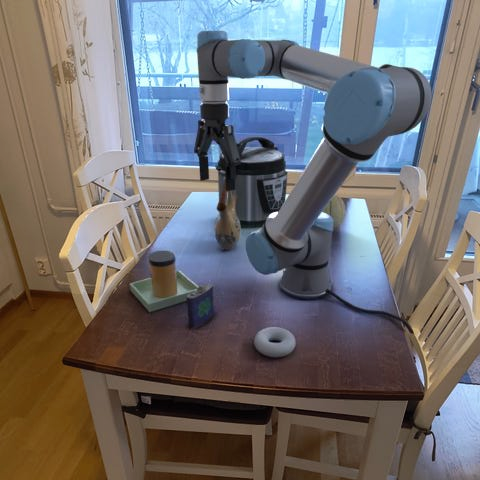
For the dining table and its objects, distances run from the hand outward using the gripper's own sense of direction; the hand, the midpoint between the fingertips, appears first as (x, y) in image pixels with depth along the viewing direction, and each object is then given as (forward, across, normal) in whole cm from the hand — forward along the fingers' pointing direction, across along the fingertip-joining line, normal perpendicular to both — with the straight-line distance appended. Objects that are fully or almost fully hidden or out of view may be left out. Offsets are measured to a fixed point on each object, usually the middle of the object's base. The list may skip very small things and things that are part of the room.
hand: (217, 184), depth 122 cm
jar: (+27, +3, -21) cm, 34 cm away
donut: (+28, +42, -12) cm, 52 cm away
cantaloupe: (+28, -6, +53) cm, 60 cm away
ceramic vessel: (+28, -14, +13) cm, 33 cm away
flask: (+28, +22, -20) cm, 40 cm away
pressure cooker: (+27, -34, +39) cm, 58 cm away
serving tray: (+28, +3, -21) cm, 35 cm away
